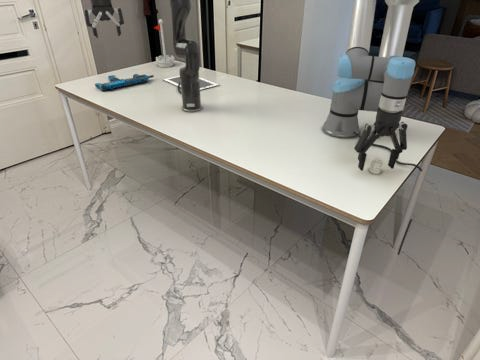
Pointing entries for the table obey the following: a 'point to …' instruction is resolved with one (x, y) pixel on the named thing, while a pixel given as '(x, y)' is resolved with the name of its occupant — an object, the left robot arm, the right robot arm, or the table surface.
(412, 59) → the right robot arm
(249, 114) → the table surface
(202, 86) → the tablet
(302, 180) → the table surface
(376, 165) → the can
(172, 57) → the flag stand
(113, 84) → the submachine gun
